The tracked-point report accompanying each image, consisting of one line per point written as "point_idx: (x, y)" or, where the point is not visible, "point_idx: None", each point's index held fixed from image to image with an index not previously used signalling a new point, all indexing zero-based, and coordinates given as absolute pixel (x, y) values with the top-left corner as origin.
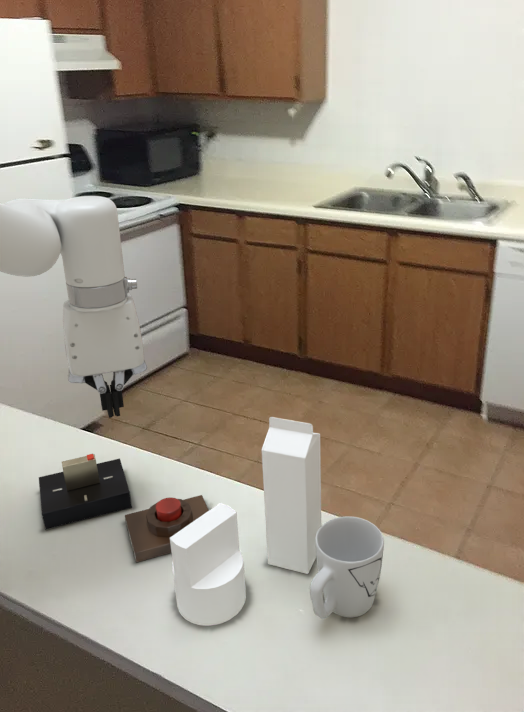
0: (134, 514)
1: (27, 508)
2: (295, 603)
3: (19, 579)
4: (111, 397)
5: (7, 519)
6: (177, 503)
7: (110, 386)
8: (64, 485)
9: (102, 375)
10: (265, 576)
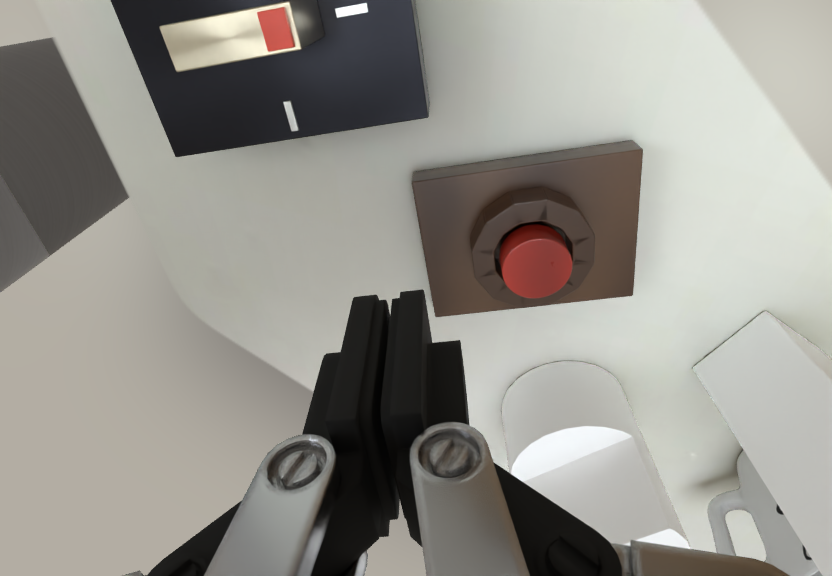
0: (438, 188)
1: (104, 15)
2: (691, 443)
3: (197, 287)
4: (388, 341)
5: (66, 59)
6: (563, 270)
7: (388, 446)
8: (199, 13)
9: (317, 548)
10: (672, 388)
